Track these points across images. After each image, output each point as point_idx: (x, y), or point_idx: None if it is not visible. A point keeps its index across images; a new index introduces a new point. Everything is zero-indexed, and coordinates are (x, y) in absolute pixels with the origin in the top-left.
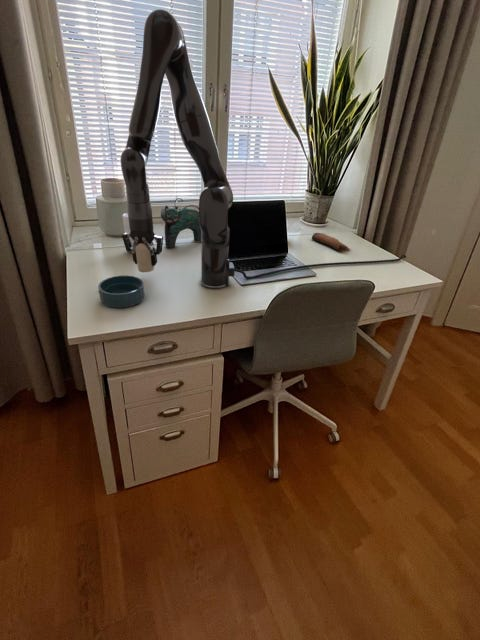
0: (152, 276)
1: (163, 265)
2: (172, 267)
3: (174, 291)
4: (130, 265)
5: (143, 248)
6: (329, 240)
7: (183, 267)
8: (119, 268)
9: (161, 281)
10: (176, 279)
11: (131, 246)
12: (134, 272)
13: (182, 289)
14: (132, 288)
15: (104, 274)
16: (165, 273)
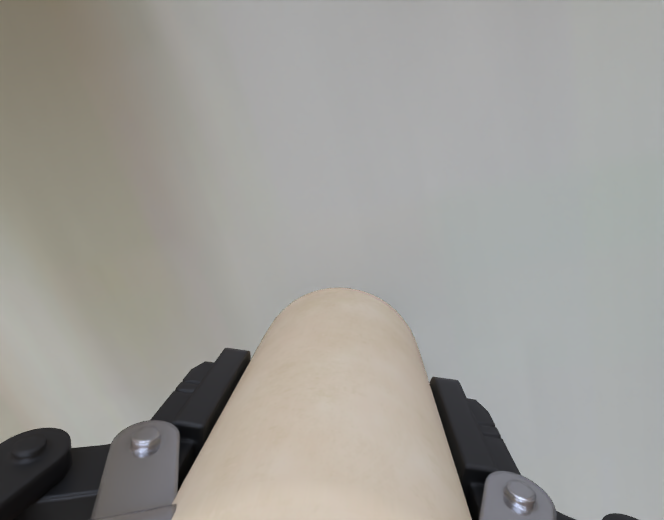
0: (381, 296)
1: (429, 23)
2: (533, 58)
3: (589, 497)
4: (112, 100)
5: None
6: None
7: (655, 31)
8: (54, 189)
9: (472, 370)
10: (593, 319)
11: (30, 504)
12: (211, 247)
13: (647, 466)
14: None
15: (10, 322)
16: (481, 218)
